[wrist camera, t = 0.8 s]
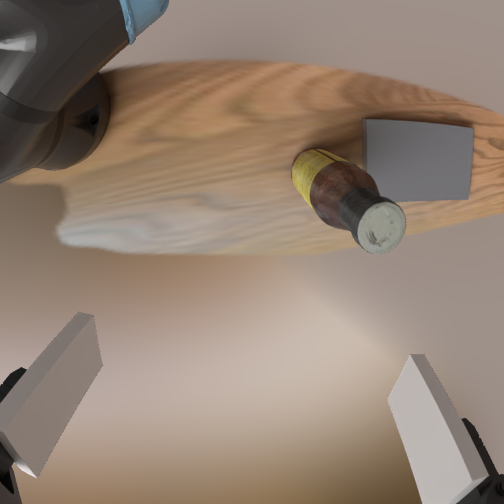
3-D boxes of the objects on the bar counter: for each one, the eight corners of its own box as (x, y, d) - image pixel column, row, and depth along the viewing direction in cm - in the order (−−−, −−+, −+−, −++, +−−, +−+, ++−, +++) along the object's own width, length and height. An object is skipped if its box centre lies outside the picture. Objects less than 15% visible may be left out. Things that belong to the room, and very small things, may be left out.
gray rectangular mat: (362, 200, 40) (366, 203, 39) (362, 118, 35) (366, 119, 34) (462, 196, 40) (468, 199, 38) (467, 127, 35) (473, 128, 34)
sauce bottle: (291, 196, 40) (332, 277, 22) (286, 148, 37) (330, 192, 19) (340, 191, 39) (412, 264, 22) (337, 144, 37) (419, 184, 19)
